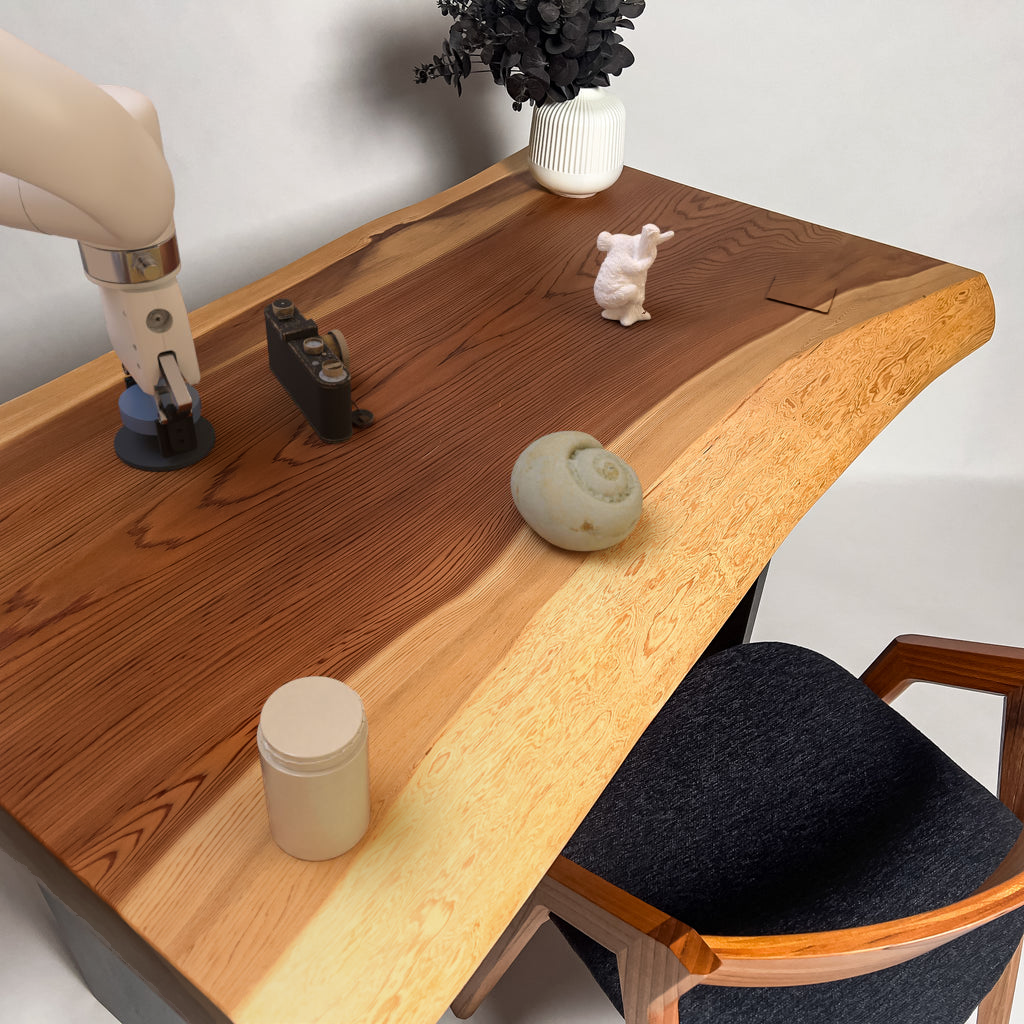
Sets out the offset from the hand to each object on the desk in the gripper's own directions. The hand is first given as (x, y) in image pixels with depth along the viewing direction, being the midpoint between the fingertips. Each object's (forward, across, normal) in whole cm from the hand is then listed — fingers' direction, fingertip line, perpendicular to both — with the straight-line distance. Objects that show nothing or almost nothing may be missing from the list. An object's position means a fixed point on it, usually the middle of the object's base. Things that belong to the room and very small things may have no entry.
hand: (164, 429), depth 89 cm
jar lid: (-3, 0, 0) cm, 3 cm away
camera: (+2, 0, -16) cm, 16 cm away
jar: (+1, -43, +6) cm, 43 cm away
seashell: (+2, -28, -26) cm, 38 cm away
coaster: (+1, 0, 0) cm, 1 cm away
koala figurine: (+2, -2, -55) cm, 55 cm away
